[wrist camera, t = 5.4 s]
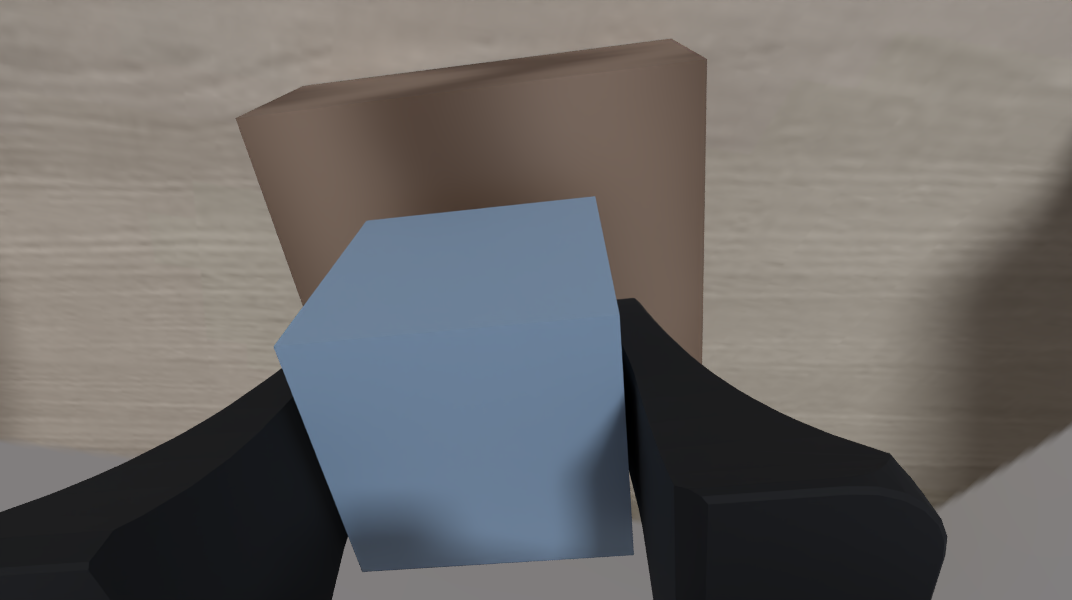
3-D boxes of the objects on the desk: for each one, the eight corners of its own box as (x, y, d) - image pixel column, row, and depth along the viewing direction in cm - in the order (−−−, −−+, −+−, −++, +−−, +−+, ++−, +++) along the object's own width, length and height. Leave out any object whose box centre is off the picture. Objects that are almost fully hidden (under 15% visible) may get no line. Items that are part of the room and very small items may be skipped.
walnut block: (671, 38, 16) (706, 59, 12) (674, 354, 20) (701, 434, 17) (303, 86, 16) (235, 118, 13) (390, 379, 21) (358, 461, 18)
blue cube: (594, 196, 13) (619, 314, 8) (609, 385, 15) (633, 555, 11) (366, 220, 13) (273, 346, 9) (415, 401, 15) (362, 571, 11)
